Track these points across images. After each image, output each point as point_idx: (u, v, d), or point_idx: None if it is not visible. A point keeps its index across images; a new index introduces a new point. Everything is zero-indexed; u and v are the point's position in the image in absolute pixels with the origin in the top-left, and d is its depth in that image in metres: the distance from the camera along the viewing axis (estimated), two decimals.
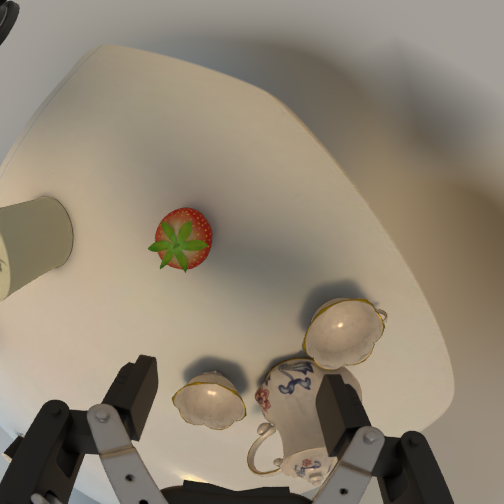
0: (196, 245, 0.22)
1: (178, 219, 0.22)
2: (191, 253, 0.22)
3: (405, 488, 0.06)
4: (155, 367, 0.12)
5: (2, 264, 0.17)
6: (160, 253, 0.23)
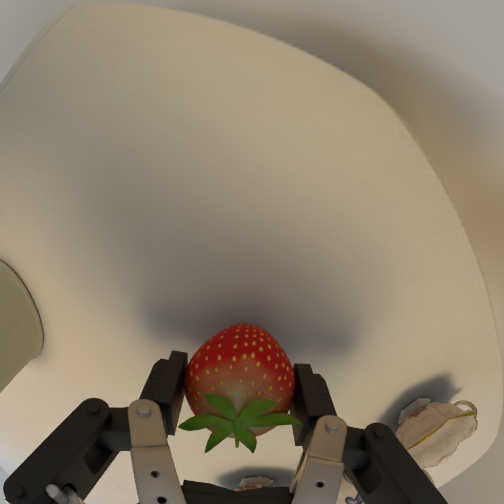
0: (277, 420, 0.10)
1: (239, 378, 0.10)
2: (265, 428, 0.10)
3: (379, 478, 0.07)
4: (186, 362, 0.12)
5: None
6: None
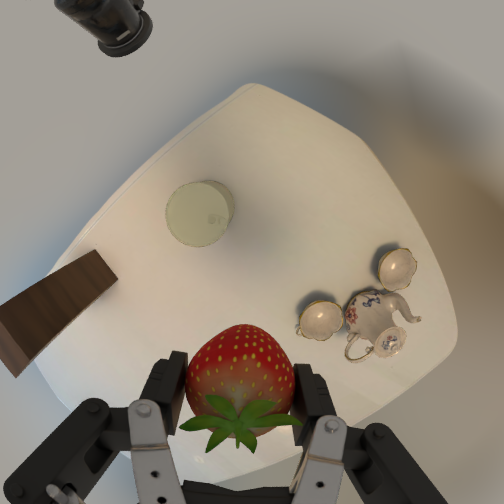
0: (277, 420, 0.10)
1: (240, 379, 0.10)
2: (265, 428, 0.10)
3: (379, 478, 0.07)
4: (186, 362, 0.12)
5: (222, 218, 0.38)
6: None
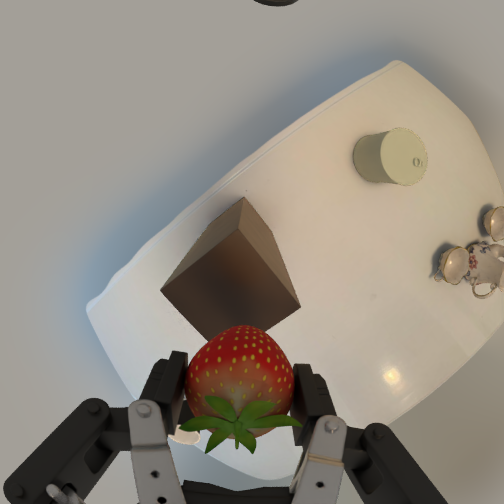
0: (276, 421, 0.10)
1: (239, 380, 0.10)
2: (265, 429, 0.10)
3: (379, 478, 0.07)
4: (187, 362, 0.12)
5: (423, 162, 0.36)
6: None
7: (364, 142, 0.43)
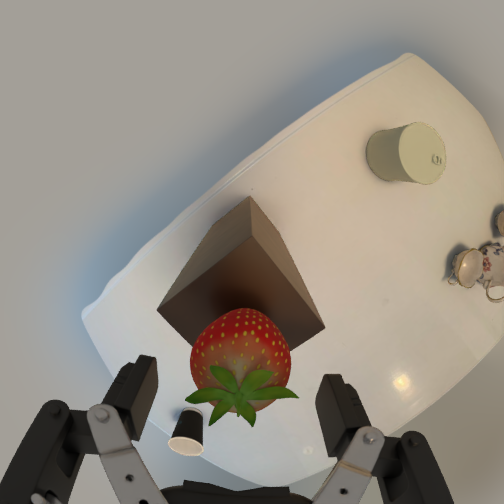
0: (274, 393, 0.11)
1: (240, 352, 0.11)
2: (263, 401, 0.12)
3: (405, 488, 0.06)
4: (155, 367, 0.12)
5: (442, 159, 0.32)
6: None
7: (378, 137, 0.39)
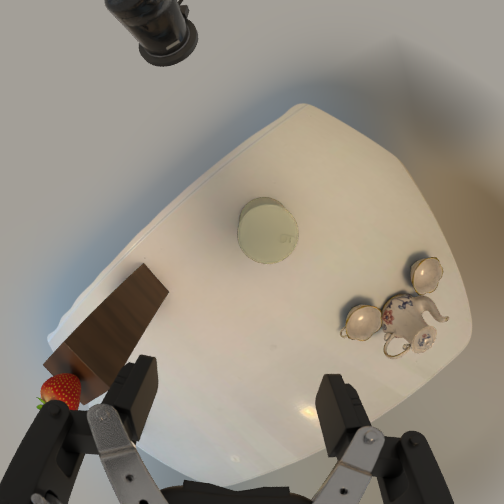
0: None
1: (46, 394, 0.21)
2: None
3: (405, 488, 0.06)
4: (155, 367, 0.12)
5: (292, 237, 0.41)
6: None
7: (243, 211, 0.48)
